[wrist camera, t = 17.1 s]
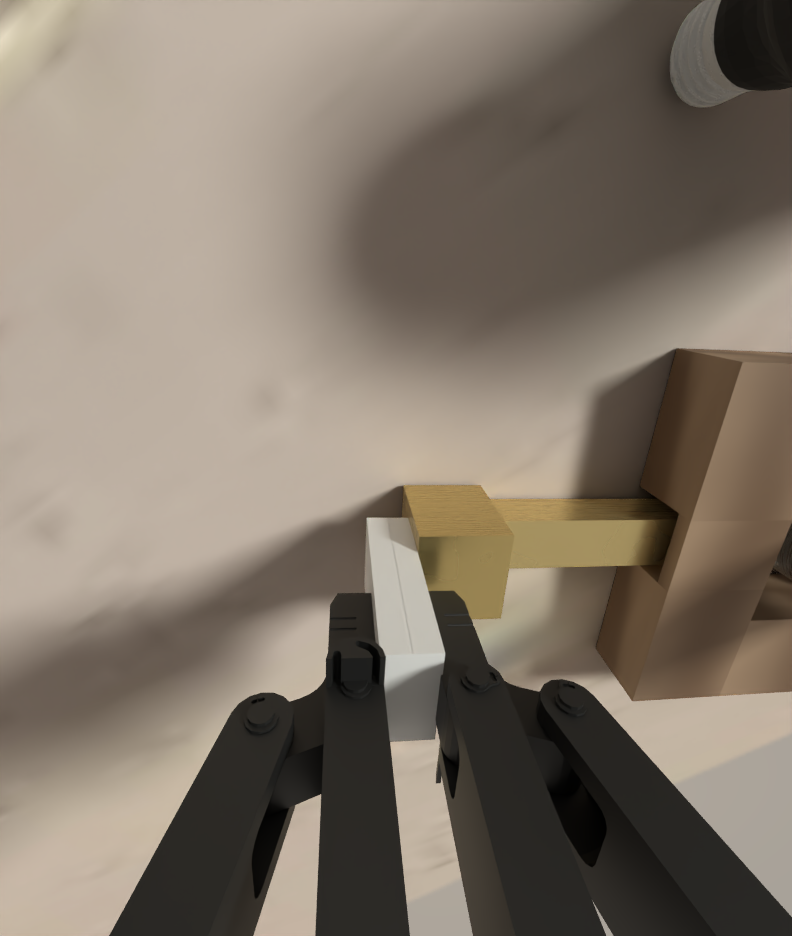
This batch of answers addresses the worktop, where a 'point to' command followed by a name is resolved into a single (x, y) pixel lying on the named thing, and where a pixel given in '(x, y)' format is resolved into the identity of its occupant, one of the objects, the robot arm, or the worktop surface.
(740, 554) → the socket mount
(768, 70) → the light bulb
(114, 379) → the worktop surface
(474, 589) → the lock pin
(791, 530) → the cylinder
